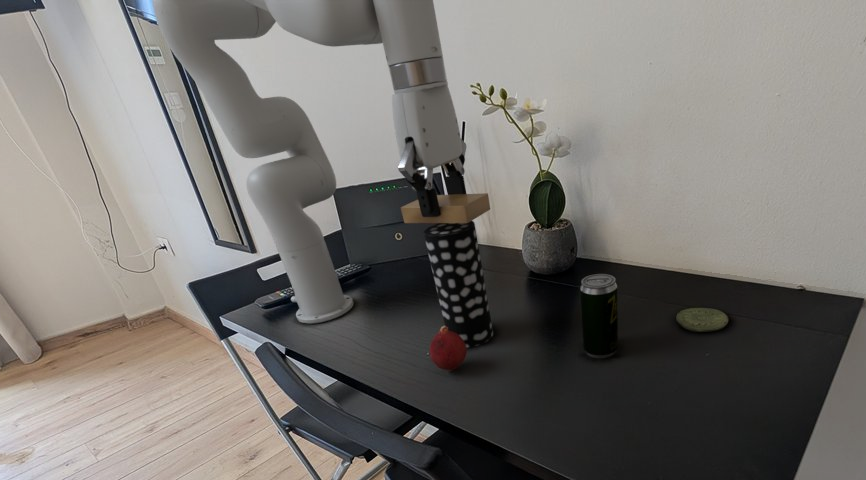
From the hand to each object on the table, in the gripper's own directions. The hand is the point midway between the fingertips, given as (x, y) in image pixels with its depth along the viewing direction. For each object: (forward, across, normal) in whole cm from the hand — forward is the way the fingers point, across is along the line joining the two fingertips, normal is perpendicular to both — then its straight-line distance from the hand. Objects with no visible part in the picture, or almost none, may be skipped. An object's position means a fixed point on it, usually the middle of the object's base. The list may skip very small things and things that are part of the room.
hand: (445, 208), depth 73 cm
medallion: (+23, -14, +37) cm, 46 cm away
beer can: (+23, -1, +24) cm, 33 cm away
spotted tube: (+23, 0, 0) cm, 23 cm away
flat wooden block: (+1, 0, 0) cm, 1 cm away
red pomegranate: (+23, +11, +3) cm, 26 cm away
